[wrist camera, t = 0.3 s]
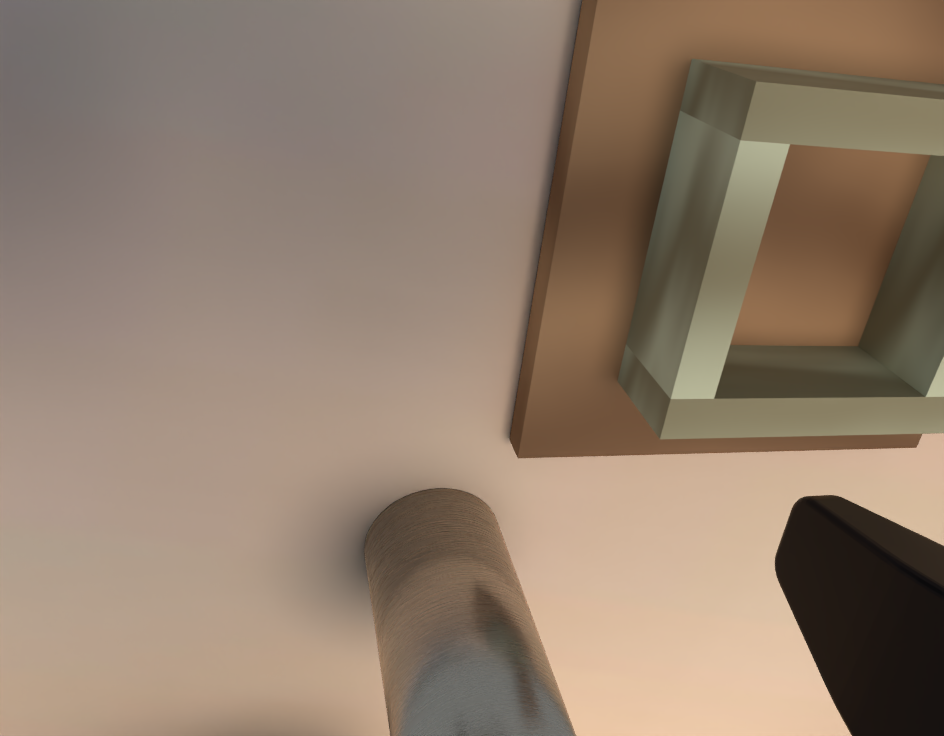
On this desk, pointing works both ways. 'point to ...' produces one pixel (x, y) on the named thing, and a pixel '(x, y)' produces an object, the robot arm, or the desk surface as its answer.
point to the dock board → (742, 232)
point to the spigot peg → (456, 624)
